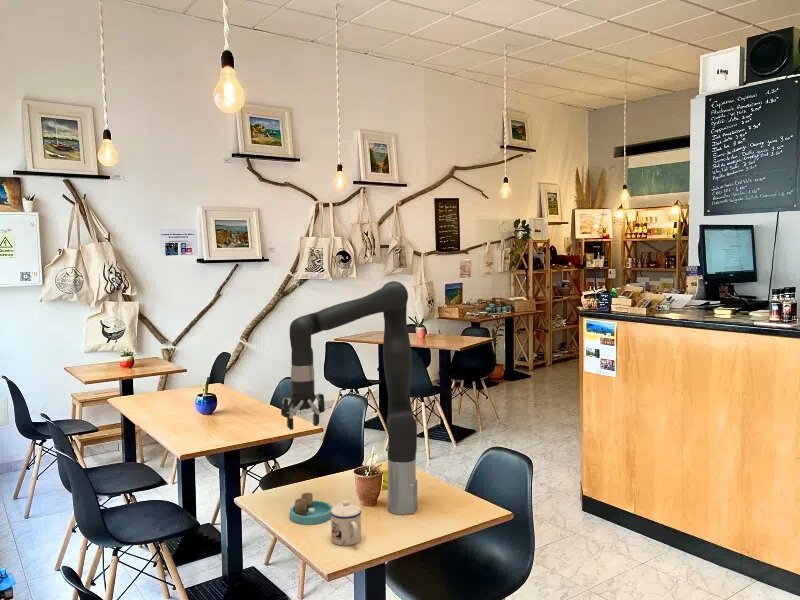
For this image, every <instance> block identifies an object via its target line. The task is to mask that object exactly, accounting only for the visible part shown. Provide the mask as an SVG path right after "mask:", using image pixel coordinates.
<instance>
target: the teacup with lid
mask: <svg viewBox="0 0 800 600" xmlns="http://www.w3.org/2000/svg"><path fill="white" fill-rule="evenodd" d="M362 511H363V510H362V509H361V507H360V506H359V505H357V504H353V503H351V502H350V500H348V499H345V500H343V501H342V502H341V503H340V504H336V505H334V506H333V508H332V509H331V519H330V520H331V521H330V522H331V541H332V543H333V544H335V545H338V546H344V547H345V546H353V545H356V544H357V543H359V542H360V541H361V540H362V535H361V534H362V530H361V529H362V525H361V523H362V522H361V520H362V517H361V515H362Z"/></svg>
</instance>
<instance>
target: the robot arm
mask: <svg viewBox="0 0 800 600" xmlns="http://www.w3.org/2000/svg"><path fill="white" fill-rule="evenodd" d="M408 300H409V292H408V289H407V287H406V286H405V284H403V283H402V282H400V281H394V280H392V281H388V282H386V283H385V284H384V285H383V286H382V287H380V288H379V289H378V290H376V291H374V292H371V293H369V294H367V295H365V296H362V297H359V298H356V299H353V300H348V301H344V302H340V303H337V304H334V305H331V306H329V307H326V308H323V309H321V310H319V311H315V312H312V313H308V314H305V315H302V316H298V317H297V318H295V319H294V320H292V321H291V323H290V325H289V342H290V348H291V367H290V368H291V369H290V390H291V392H290V395H291V396H290V397H282V398H281V409H280V413H281V414H280V415H281V417H283V418H286V425H287V428H288V429H289V430H294V416H295V415H296V414H297V413H298V411H303V410H309V409H310V410H311V411H312V413H313V414H312V423H313V424H312V425H313V426H314V427H318V425H319V424H320V414H321V413H324V412H325V411H326V409H325V407H326V406H325V395H324V394H322V393H321V392H319V393H316V394H315V390H316V389H315V368H314V367H315V366H314V350H313V347H312V335H315V334H319V333H320V332H323V331H329V330H333V329H336V328H338V327H342V326H344V325H347V324H350V323H352V322H354V321H357V320H359V319H362V318H366V317H368V316H373V315H375V314H376V315H377V314H379V313H382V315H383V319H384V320H383V321H384V322H383V323H384V329H383V342H382V343H383V344H382V356H383V358H382V359H383V370H384V371H383V372H384V378H385V379H384V380H385V384H386V389H387V399H388V400H387V414H386V415H387V417H386V427H387V429H388V430H387V431H388V435H387V436H388V448H387V470H388V490H387V510H388V512H389V513H391V514H394V515H397V516H398V515H401V516H402V515H403V516H405V515H414V514H415V512H416V510H417V508H418V479H417V478H416V477H417V475H416V473H417V471H416V470H417V468H416V465H417V460H416V459H417V448H418V445H417V443H418V427H417V426H418V425H417V424H418V423H417V420H416V419H415V417H414V414H413V409H412V402H411V401H412V400H411V384H412V375H413V374H412V373H413V360H412V358H413V357H412V348H411V341H410V335H409V331H408V324H407V323H408V322H407V309H408V308H407V306H408ZM315 400H316V401H317V405H318V408H317V406H316V405H315V404H314V402H315ZM290 403H291V406H290V408H289V409H288V407H289V405H290Z"/></svg>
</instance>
